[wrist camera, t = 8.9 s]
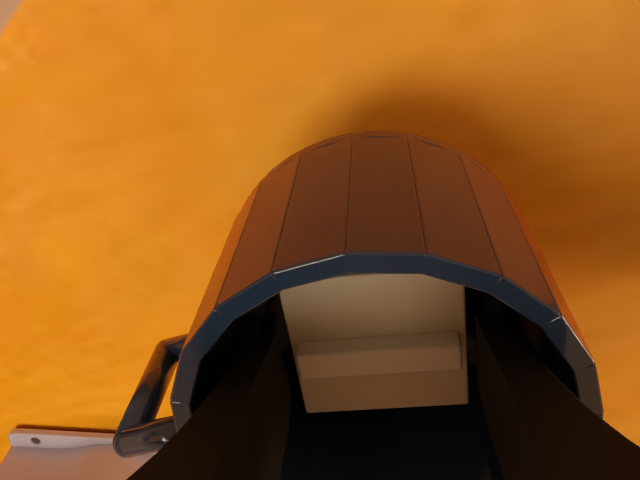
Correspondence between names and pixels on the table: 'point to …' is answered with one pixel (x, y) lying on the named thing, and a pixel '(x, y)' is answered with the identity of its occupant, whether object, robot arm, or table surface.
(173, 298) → the table surface
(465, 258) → the mug
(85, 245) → the table surface
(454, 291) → the tan ridged cube
